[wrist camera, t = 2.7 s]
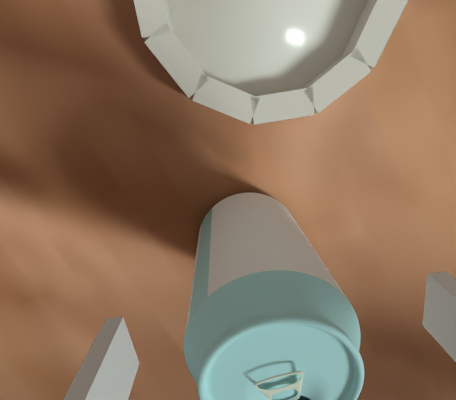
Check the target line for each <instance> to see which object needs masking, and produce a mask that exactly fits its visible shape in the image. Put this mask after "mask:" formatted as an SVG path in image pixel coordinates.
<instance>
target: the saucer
mask: <svg viewBox="0 0 456 400" xmlns="http://www.w3.org/2000/svg"><path fill="white" fill-rule="evenodd" d="M407 1H408V0H134V5H135V9H136V14H137V18H138V23H139V27H140V31H141V36H142V38H143V39H144V40H145V42H144V43H145V44H146V45H147V47H148V48H149V49H150V50H151V52H152V53H153V54H154V55H155V57H156V58H157V59H158V60H159V62H160V63H161V64H162V65H163V67H164V68H165V69H166V70H167V72H168V73H169V74H170V75H171V77H172V78H173V79H174V80H175V82H176V83H177V84H178V85H179V87H180V88H181V89H182V90H183V92H184V93H185V94H186V95H187V97H188V98H191V99H192V98H193V100H192V101H194V102H197V103H199V104H202V105H204V106H206V107H209V108H211V109H214V110H216V111H219V112H221V113H224V114H226V115H229V116H231V117H234V118H236V119H239V120H241V121H244V122H246V123H248V124H250V123H252V124H261V123H267V122H273V121H279V120H285V119H292V118H298V117H304V116H310V115H314V113H319V112H320V111H321V110H323V109H324V108H325V107H327V106H328V105H329V104H330V103H332V102H333V101H334V100H335V99H337V98H338V97H339V96H341V95H342V94H343V93H344V92H346V91H347V90H348V89H349V88H351V87H352V86H353V85H355V84H356V83H357V82H358V81H360V80H361V79H362V78H364V77H365V76H366V75H367V74H369V73H370V72H371V71H370V69H371V68H374V67H375V65H376V63H377V61H378V59H379V57H380V55H381V53H382V51H383V49H384V47H385V45H386V43H387V41H388V39H389V37H390V35H391V33H392V31H393V29H394V27H395V25H396V23H397V21H398V19H399V17H400V15H401V13H402V11H403V9H404V7H405V5H406V3H407Z"/></svg>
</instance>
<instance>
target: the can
mask: <svg viewBox="0 0 456 400" xmlns="http://www.w3.org/2000/svg"><path fill="white" fill-rule="evenodd" d="M360 341H361V333H360V326H359V322H358V318H357V315H356V313H355V310H354V308H353V307H352V305H351V303H350V302H349V300H348V299H347V297H346V296H345V294H344V293H343V291H342V290H341V288H340V287H339V285H338V284H337V282H336V281H335V279H334V278H333V277H332V275H331V274H330V272H329V271H328V269H327V268H326V266H325V265H324V263H323V262H322V260H321V259H320V257H319V256H318V254H317V253H316V251H315V250H314V248H313V247H312V245H311V244H310V242H309V241H308V239H307V238H306V236H305V235H304V233H303V232H302V230H301V229H300V227H299V226H298V224H297V223H296V221H295V220H294V218H293V217H292V215H291V214H290V213H289V211H288V210H287V209H286V208H285V206H284V205H282V204H281V203H280V202H279V201H277V200H276V199H274V198H272V197H270V196H267V195H264V194H260V193H240V194H235V195H232V196H229V197H227V198H225V199H223V200H221V201H220V202H218V203H217V204H216V205H215V206H213V207H212V208H211V210H210V211H209V212H208V213H207V215H206V216H205V218H204V220H203V222H202V224H201V227H200V231H199V238H198V245H197V252H196V259H195V266H194V273H193V280H192V287H191V294H190V301H189V308H188V315H187V322H186V329H185V336H184V354H185V360H186V363H187V367H188V369H189V372H190V374H191V376H192V377H193V379H194V380H195V382H196V383H197V392H198V397H199V400H357V398H358V396H359V394H360V392H361V389H362V386H363V382H364V364H363V360H362V357H361V355H360V353H359V349H360Z"/></svg>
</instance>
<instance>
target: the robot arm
mask: <svg viewBox="0 0 456 400" xmlns="http://www.w3.org/2000/svg"><path fill="white" fill-rule="evenodd" d="M422 325H423V326H424V328H425V329H426V330H427V331H428V332H429V333H430V334H431V335H432V336H433V338H434V339H435V340H436V341H437V342H438V343H439V344H440V345H441V347H442V348H443V349H444V350H445V351H446V352H447V353H448V354H449V355H450V357H451V358H452V359H453V360H454V361H455V362H456V279H455V278H454V277H453V276H451V275H450V274H449V273H447V272H446V271H444V272H437V273H430V274H427V282H426V293H425V303H424V313H423V323H422ZM138 366H139V361H138V358H137V355H136V352H135V350H134V347H133V344H132V341H131V338H130V335H129V332H128V329H127V326H126V324H125V321H124V318H123V317H117V318H110V319H106V320H105V322H104V324H103V326H102V328H101V329H100V331H99V333H98V335H97V337H96V339H95V341H94V343H93V344H92V346H91V348H90V350H89V352H88V354H87V356H86V358H85V359H84V361H83V363H82V365H81V367H80V369H79V371H78V373H77V374H76V376H75V378H74V380H73V382H72V384H71V386H70V388H69V389H68V391H67V393H66V395H65V397H64V399H63V400H128V398H129V395H130V392H131V388H132V385H133V382H134V379H135V376H136V372H137V369H138Z"/></svg>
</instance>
